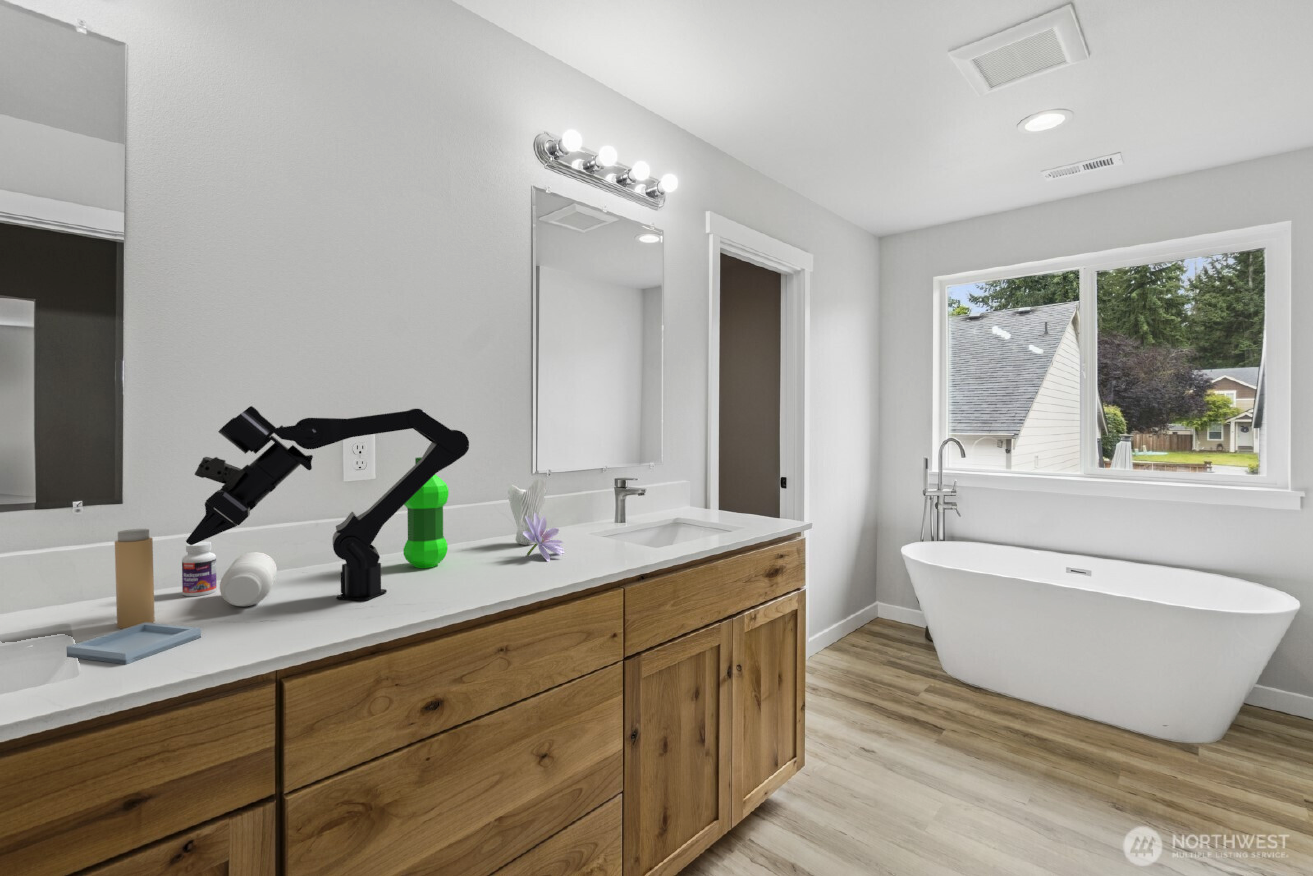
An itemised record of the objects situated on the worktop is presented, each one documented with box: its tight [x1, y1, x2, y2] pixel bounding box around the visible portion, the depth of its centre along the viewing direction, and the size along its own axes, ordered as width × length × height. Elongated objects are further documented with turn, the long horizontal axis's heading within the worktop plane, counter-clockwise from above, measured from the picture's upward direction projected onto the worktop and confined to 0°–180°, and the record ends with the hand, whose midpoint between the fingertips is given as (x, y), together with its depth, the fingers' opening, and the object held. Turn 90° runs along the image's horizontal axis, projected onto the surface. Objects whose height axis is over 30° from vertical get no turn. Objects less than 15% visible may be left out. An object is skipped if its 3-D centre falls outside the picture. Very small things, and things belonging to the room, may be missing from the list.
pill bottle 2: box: [219, 551, 278, 608], centre depth 116 cm, size 8×8×15 cm
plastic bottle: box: [403, 456, 450, 569], centre depth 145 cm, size 10×10×25 cm
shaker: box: [114, 528, 156, 630], centre depth 104 cm, size 5×5×16 cm
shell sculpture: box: [507, 477, 547, 546], centre depth 169 cm, size 8×8×18 cm
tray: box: [66, 622, 202, 665], centre depth 93 cm, size 11×11×2 cm
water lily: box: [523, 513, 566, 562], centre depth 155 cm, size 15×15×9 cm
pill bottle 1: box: [181, 541, 217, 597], centre depth 122 cm, size 5×5×10 cm
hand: (193, 538), depth 107 cm, fingers open, 9 cm apart
